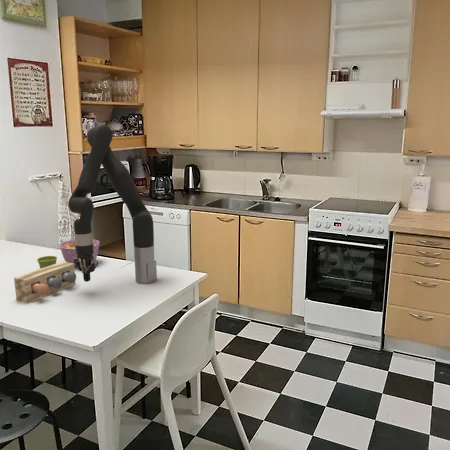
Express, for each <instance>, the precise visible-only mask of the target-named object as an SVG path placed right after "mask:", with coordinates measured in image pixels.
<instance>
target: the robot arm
mask: <svg viewBox="0 0 450 450" xmlns="http://www.w3.org/2000/svg"><path fill="white" fill-rule="evenodd" d="M113 136H114V135H113V130H112V129H111V128H110V127H109V126H108V125H106V124H99V125H98V124H97V125H96V126H93V127H91V128H90V129H89V130H88V131H87V133H86V140H87V143H88V144H89V146H90V147H91V148H90V152H89V155H88V158H87V159H86V161H85V164H84V165H83V167H82V169H81V173H80V177H79V179H78V182H77V186H76V187H75V189H74V191H73V192H72V194H71V196H70V198H69V200H68V209H69V211H70V212H71V213H74V214H80V216H79V218H76V219H75V220H74V221H73V229H74V230H73V231H74V240H75V250H76V254H77V258H76V259H74V263H75V264H76V266H77V267H76V268H77V269H78V271H79V272H81V273H82V276H83V277H82V278H83V281H84V282H87V283H88V282H90V281H91V273H93V272H94V271H95V269H96V268H97V266H98V264H99V262H98V261H96V260H95V261H94V258H93V252H94V247H93V239H94V236H93V232H92V231H93V230H92V221H93V220H92V219H93V215H94V208H95V205H94V203H93V201H92V199H91V198H90V197H87V195H89V194H92V193H94V191H95V188H96V185H97V181H98V178H99V172H100V170H101V167H102V168H103V170H104V171H105V173H106V175H107V178H108V180H109V181H110V183H111V185H112V187H113V189H114V191H115V192H116V194H117V196H118V197H120V199H121V200H122V202H123V203H124V204H125V206H126V207H127V210H128V212H129V215H130V216H131V220H132V238H133V239H132V240H133V254H134V255H133V257H134V259H133V260H134V276H135V283H138V284H151V283H154V282H156V281H157V280H158V273H157V270H158V269H157V260H155V243H154V242H155V241H154V240H155V235H154V234H155V233H154V231H155V229H154V219H153V216H152V214H151V212H150V211H149V209H148V208H147V207H146V205H145V204H144V202H143V200H142V199H141V196H140V194H139V191H138V189H137V186H136V183H135V181H134V179H133V177H132V175H131V173H130V171H129V170H128V168H127V167H126V165H125V164H124V163H123V162H122V161H121V160H120V159H119V158H118V157H117V156H116V155H115V153H114V152H113V149H112V148H111V146H110V145H111V143H112V141H113V138H114V137H113Z"/></svg>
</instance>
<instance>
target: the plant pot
mask: <svg viewBox="0 0 450 450" xmlns="http://www.w3.org/2000/svg"><path fill="white" fill-rule="evenodd" d="M57 260H58V257H57V256H56V255H46V256H41V257H40V256H39V257H38V258H36V262H37V264H39V269H42V268H45V267H48V266H51V265H54V264H57Z"/></svg>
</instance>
